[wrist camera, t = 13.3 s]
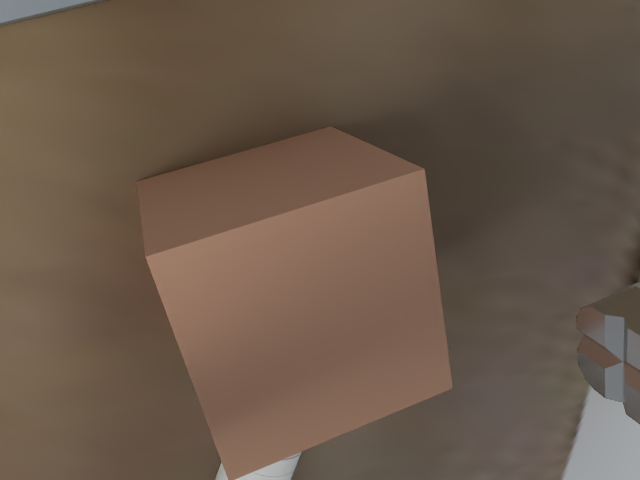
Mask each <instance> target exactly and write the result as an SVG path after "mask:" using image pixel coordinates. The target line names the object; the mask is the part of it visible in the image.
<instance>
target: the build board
mask: <svg viewBox="0 0 640 480" xmlns="http://www.w3.org/2000/svg"><path fill="white" fill-rule="evenodd" d="M102 1H106V0H0V26H3V25H7V24H12V23H16V22H20V21H24V20H28V19H32V18H36V17H40V16H45V15H49V14H53V13H57V12H61V11H65V10H69V9H73V8H77V7H82V6H86V5H90V4H94V3H98V2H102Z"/></svg>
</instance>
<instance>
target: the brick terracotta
mask: <svg viewBox="0 0 640 480" xmlns="http://www.w3.org/2000/svg"><path fill="white" fill-rule="evenodd" d="M136 185H137V193H138V201H139V209H140V217H141V225H142V233H143V241H144V249H145V257H146V260H147V262H148V265H149V268H150V270H151V273H152V276H153V279H154V281H155V284H156V287H157V289H158V292H159V295H160V297H161V300H162V303H163V305H164V308H165V311H166V314H167V316H168V319H169V322H170V324H171V327H172V330H173V332H174V335H175V338H176V340H177V343H178V346H179V349H180V351H181V354H182V357H183V359H184V362H185V365H186V367H187V370H188V373H189V375H190V378H191V381H192V384H193V386H194V389H195V392H196V394H197V397H198V400H199V402H200V405H201V408H202V410H203V413H204V416H205V419H206V421H207V424H208V427H209V429H210V432H211V435H212V437H213V440H214V443H215V445H216V448H217V451H218V454H219V456H220V459H221V462H222V464H223V467H224V470H225V472H226V475H227V478H228V480H235V479H238V478H240V477H242V476H245V475H247V474H250V473H252V472H254V471H257V470H259V469H261V468H264V467H266V466H269V465H271V464H273V463H276V462H278V461H281V460H283V459H285V458H288V457H290V456H292V455H295V454H297V453H300V452H302V451H304V450H307V449H309V448H312V447H314V446H316V445H319V444H321V443H324V442H326V441H328V440H331V439H333V438H335V437H338V436H340V435H343V434H345V433H347V432H350V431H352V430H355V429H357V428H359V427H362V426H364V425H366V424H369V423H371V422H374V421H376V420H378V419H381V418H383V417H386V416H388V415H390V414H393V413H395V412H397V411H400V410H402V409H405V408H407V407H409V406H412V405H414V404H417V403H419V402H421V401H424V400H426V399H429V398H431V397H433V396H436V395H438V394H440V393H443V392H445V391H448V390H450V389H452V388H453V385H452V377H451V369H450V362H449V354H448V346H447V338H446V331H445V323H444V315H443V307H442V300H441V292H440V284H439V276H438V268H437V261H436V253H435V245H434V237H433V230H432V222H431V214H430V206H429V199H428V191H427V183H426V175H425V169H424V168H422V167H420V166H417V165H415V164H413V163H411V162H409V161H406V160H404V159H402V158H400V157H398V156H395V155H393V154H391V153H389V152H387V151H384V150H382V149H380V148H378V147H376V146H373V145H371V144H369V143H367V142H365V141H362V140H360V139H358V138H356V137H354V136H351V135H349V134H347V133H345V132H343V131H340V130H338V129H336V128H334V127H332V126H330V127H327V128H323V129H319V130H316V131H312V132H309V133H305V134H302V135H298V136H295V137H291V138H288V139H284V140H281V141H277V142H274V143H270V144H267V145H263V146H260V147H256V148H253V149H249V150H246V151H242V152H238V153H235V154H231V155H228V156H224V157H221V158H217V159H214V160H210V161H207V162H203V163H200V164H196V165H193V166H189V167H186V168H182V169H179V170H175V171H172V172H168V173H165V174H161V175H158V176H154V177H150V178H147V179H143V180H140V181H136Z"/></svg>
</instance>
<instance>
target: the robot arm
mask: <svg viewBox="0 0 640 480" xmlns="http://www.w3.org/2000/svg"><path fill="white" fill-rule="evenodd" d="M577 329H578V330H579V331H580V332H581V333H582V334H583V335H584V337H583V339H582V341H581V343H580V345H579V347H578V349H577V351H578V364H579V367H580V369H581V371H582V373H583V375H584V377H585V379H586V380H587V382H588V383H589V384H590V385H591V386H592V387H593V388H594V390H596V391H597V392H598V393H599V394H601V395H602V396H603V397H605V398H607V399H611V400H615V401H619V402H623V404H624V408H625V412H626V414H627V415H628V416H629V417H631V418H632V419H633V420H635V421H636V422H637V423H639V424H640V282H639V283H636V284H634V285H632V286H630V287H628V288H627V289H624V290H621V291H619V292H617V293H614V294H612V295H610V296H607V297H605V298H603V299H600V300H598V301H596V302H593V303H591V304H589V305H587V306H584V307H582V308H580V310H579V312H578V314H577Z"/></svg>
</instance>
